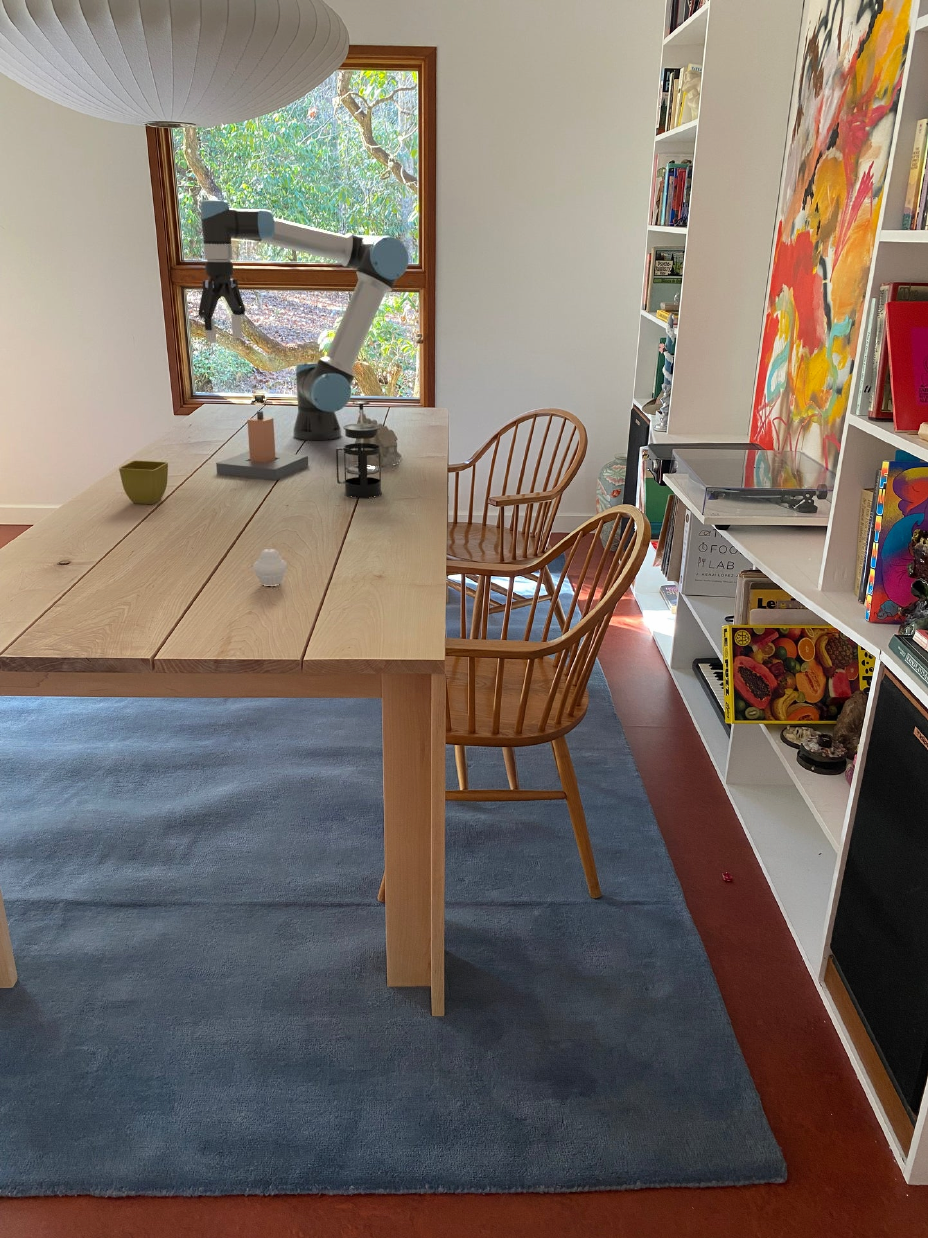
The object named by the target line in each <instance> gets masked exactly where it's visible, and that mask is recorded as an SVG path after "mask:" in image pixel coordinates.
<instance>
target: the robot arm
mask: <svg viewBox="0 0 928 1238" xmlns="http://www.w3.org/2000/svg"><path fill="white" fill-rule="evenodd" d="M200 210H201V211H200V212H201V213H200V216H201V217H200V219H201V228H202V229H201V230H202V240H203V251H204V253H203V255H204V259H205V260H206V261H205V263H204V265H205V275H206V276H207V277H209V279H203V280H202V291H201V292H202V293H201V297H200V303H199V308H198V316H199V317H200V318H201V319H203V320H204V329H205V341H206V343H208V344H209V343H211V344H212V343H213V344H216V343H217V337H216V335H217V334H216V333H217V332H216V325H215V323H216V322H215V318H214V317H213V316H214V313H215V310H216V307H217V305H218V302H219V300H220V299H221V298H222V297H223V298H224V299H225V301H226V303H227V304H228V308H230V311H231V312H232V314H231V315H230V317H231V328H232V329H231V331H232V338H233V339H243V331H242V330H243V328H242V315H245V312H246V307H245V304H244V301H243V298H242V295H241V292H240V289H239V286H238V285H239V283H238V279H237V278H231V277H233V276H234V274H235V273H234V263H233V262H232V261H231V260H233V247H232V239H243V240H244V239H245V240H250V241H254V242H259V243H262V244H267V245H271V246H275V247H278V248H283V249H288V250H291V251H296V252H299V253H303V254H307V255H312V256H315V257H316V256H317V257H320V258H325V259H328V260H333V261H336V262H340V263H341V265H342V266H343V267H346V268H351V269H353V270H356V272H355V273H356V276H357V283H356V286H355V287H354V290H353V292H352V295H351V297H350V300H348V301H349V302H348V304H347V306H346V309H345V311H344V313H343V316H342V318H341V320H340V322H339V325H338V328H337V330H336V333H334V337H333V338H332V339H333V340H332V342H331V343H330V346H329V348H328V351H327V353H326V355H325V356H322V357H320V358H319V359H318V361H317V362H306V363H298V364H297V365H296V367H295V368H296V369H295V377H296V378H295V379H296V396H297V415H296V418H295V423H294V427H293V429H292V430H293V437H294V438H295V439H298V440H303V439H304V440H305V441H329V440H336V439H338V437H339V438H340V437H342V429H341V426H340V422H339V420H338V417H337V414H336V412H339V411H340V410H343V408H345V407H346V406H347V405H348V403H349V401H350V399H351V396H352V389H351V386H352V384H353V380H354V378H355V376H356V375H355V372H354V369H353V368H354V366H355V363H356V361H357V359H358V357H359V354H360V352H361V350H362V347H363V345H364V343H365V340H366V338H367V336H368V334H369V331H370V329H371V326H372V325H373V322H374V320H375V317H376V315H377V313H378V311H379V308H380V305H381V303H382V301H383V299H384V297H385V294H387V293H389V292H392V291H393V289H394V286H395V284H396V282H397V280H398V279H399V278H400V277H401V276H403V274H404V273H405V272H406V271H407V269H408V266H409V262H410V261H409V258H410V257H409V253H408V250H407V248H406V246H405V244H404V243H403V242H402V241H401V240H400V239H398V238H396V237H395V236H391V235H387V234H386V235H385V234H384V235H383V234H382V235H361V234H360V235H359V234H354V233H351V232H348V233H346V234H345V235H344V234H340V233H335V232H332V231H328V230H324V229H320V228H316V227H312V226H309V225H304V224H300V223H297V222H292V221H289V220H284V219H280V218H276V217H274V213H273V212H272V211H271V210H269V209H263V208H259V209H256V208H255V209H254V208H253V209H252V208H251V209H249V208H241V209H240V208H230V204H229V201H228V200H220V199H219V200H217V199H212V200H211V199H208V200H207V199H206V200H205V199H204V200H203V201H202V202H201V204H200ZM328 439H329V440H328Z"/></svg>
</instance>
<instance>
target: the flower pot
mask: <svg viewBox="0 0 928 1238" xmlns="http://www.w3.org/2000/svg"><path fill="white" fill-rule="evenodd" d="M118 471H119V474H120V479H121V483H122V487H123V490H124V493H125V494H126V497H128V498H129V501H131V502H132V503H133V504H142V505H144V504H146V505H154V504H155V503H158V502H159V501H161V500H162V498H163V496H164V494H165V492H166V489H167V486H168V485H167V484H168V474H169V473H168V471H169V462H168V461H156V460H155V461H154V460H153V461H152V460H131V461H130V462H128V463H126V464H124V465H122V466H120V467H119V468H118Z"/></svg>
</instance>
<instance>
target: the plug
mask: <svg viewBox="0 0 928 1238" xmlns="http://www.w3.org/2000/svg"><path fill="white" fill-rule="evenodd" d="M274 425H275V422H274V417H264V411H263V410H257V411H256V417H252V418H248V419H247V433H248V447H249V448H248V449H249V452H250V461H252V462H262V463H269V462H272V461H274V460H276V457H275V453H276V443H275V442H276V441H275V426H274Z"/></svg>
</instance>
